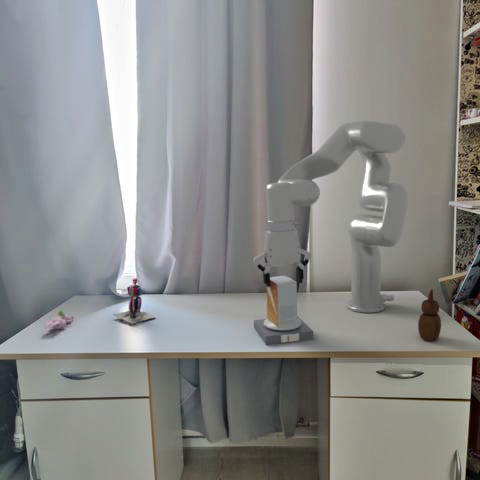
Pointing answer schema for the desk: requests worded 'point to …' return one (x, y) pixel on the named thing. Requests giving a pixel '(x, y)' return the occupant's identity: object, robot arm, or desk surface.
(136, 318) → the statue
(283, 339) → the scale
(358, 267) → the robot arm
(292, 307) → the small box
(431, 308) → the wooden figurine
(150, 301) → the desk surface
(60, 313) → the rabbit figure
